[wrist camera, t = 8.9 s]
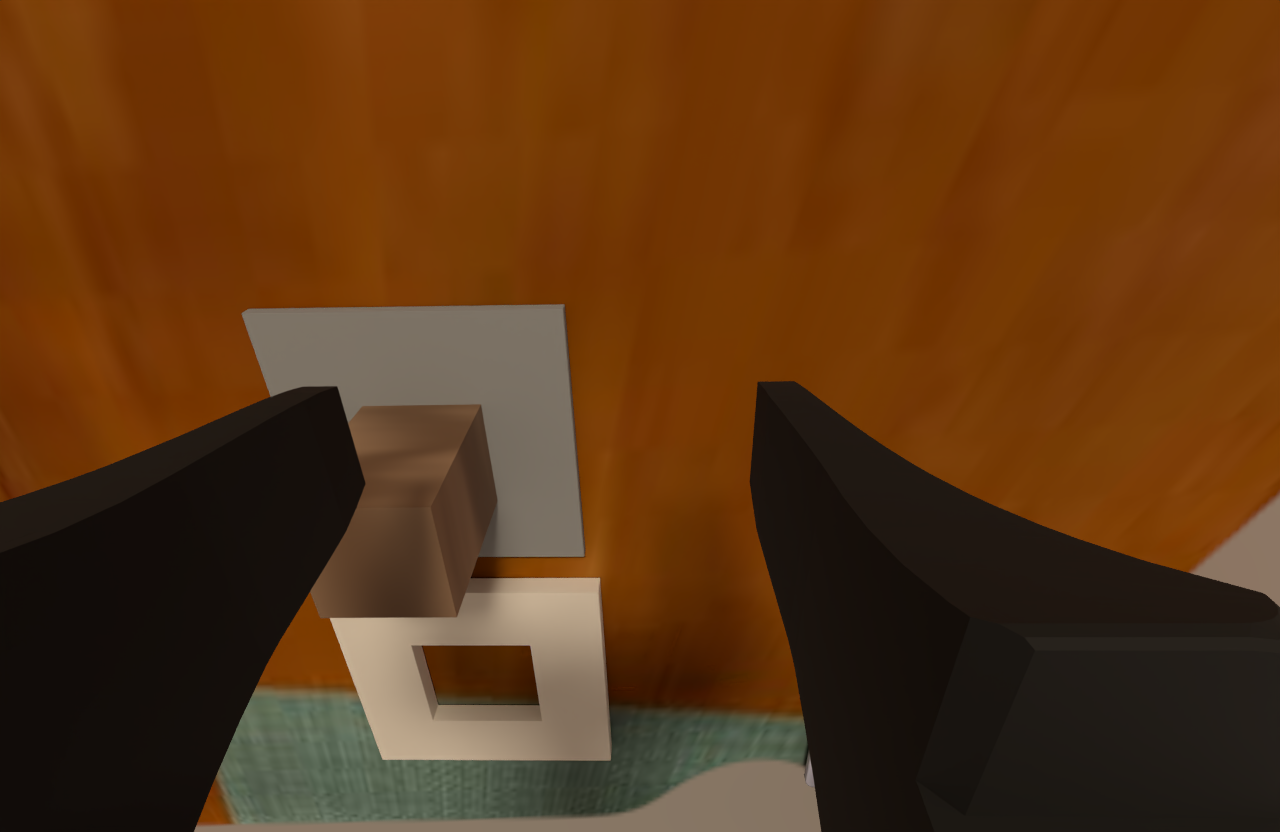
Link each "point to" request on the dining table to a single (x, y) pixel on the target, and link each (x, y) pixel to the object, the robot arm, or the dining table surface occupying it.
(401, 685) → the pocket plate
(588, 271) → the dining table surface
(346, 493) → the robot arm
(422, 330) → the mat
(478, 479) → the block
